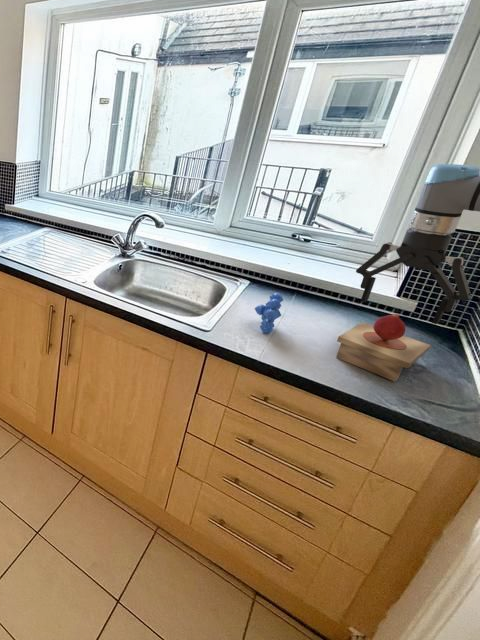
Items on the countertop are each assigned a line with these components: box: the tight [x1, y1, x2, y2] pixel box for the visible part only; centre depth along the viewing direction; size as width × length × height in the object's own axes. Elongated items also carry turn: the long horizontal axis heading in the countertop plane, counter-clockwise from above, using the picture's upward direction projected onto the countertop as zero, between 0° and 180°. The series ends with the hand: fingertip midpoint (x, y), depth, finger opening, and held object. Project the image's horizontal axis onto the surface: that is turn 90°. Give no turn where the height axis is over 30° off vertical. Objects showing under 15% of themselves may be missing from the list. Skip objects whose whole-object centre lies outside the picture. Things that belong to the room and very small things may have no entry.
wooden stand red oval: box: [335, 321, 432, 382], centre depth 111 cm, size 14×16×6 cm
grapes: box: [254, 292, 284, 334], centre depth 124 cm, size 12×7×12 cm, turn 140°
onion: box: [373, 313, 407, 341], centre depth 108 cm, size 6×6×8 cm
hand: (398, 311), depth 107 cm, fingers open, 13 cm apart
